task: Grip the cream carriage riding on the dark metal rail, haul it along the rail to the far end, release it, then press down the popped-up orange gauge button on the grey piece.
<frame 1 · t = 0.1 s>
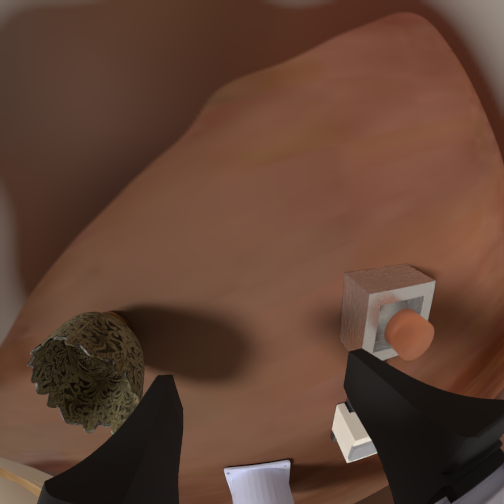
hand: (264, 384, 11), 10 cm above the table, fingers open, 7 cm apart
cup: (115, 327, 20), on the table
grey piece: (374, 301, 22), on the table
carriage: (363, 429, 23), point 3 cm above the table, slide at 0.0 cm
gauge button: (409, 334, 17), point 5 cm above the table, slide at 0.0 cm
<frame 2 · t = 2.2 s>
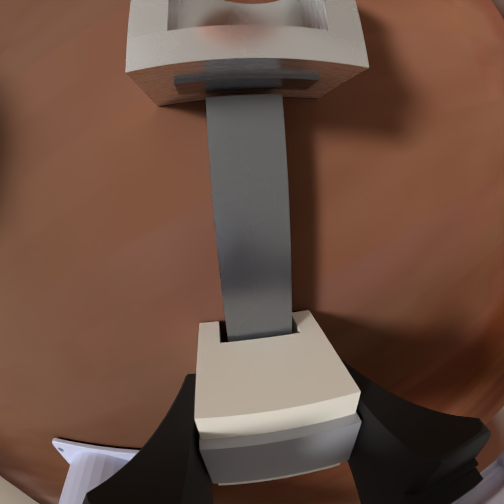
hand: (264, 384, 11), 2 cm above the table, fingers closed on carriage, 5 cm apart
grey piece: (235, 30, 8), on the table
rail: (253, 293, 11), on the table
carriage: (268, 401, 10), point 3 cm above the table, slide at 0.0 cm, touching gripper
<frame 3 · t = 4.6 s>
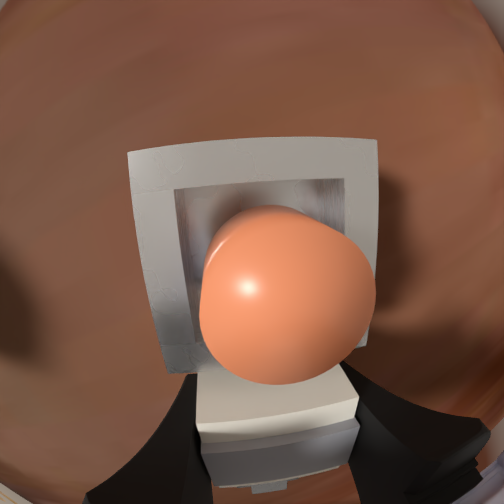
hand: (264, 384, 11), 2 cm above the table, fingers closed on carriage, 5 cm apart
grey piece: (248, 230, 11), on the table
rail: (262, 421, 14), on the table
carriage: (268, 405, 10), point 3 cm above the table, slide at 7.8 cm, touching gripper
gauge button: (279, 289, 6), point 5 cm above the table, slide at 0.0 cm
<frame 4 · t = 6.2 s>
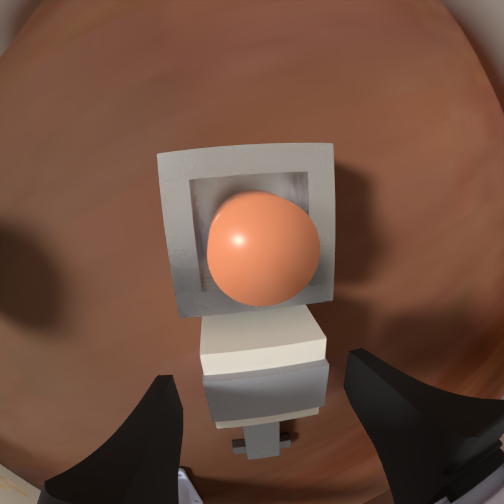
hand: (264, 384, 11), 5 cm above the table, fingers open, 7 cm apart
grey piece: (243, 214, 14), on the table
rail: (256, 383, 17), on the table
carriage: (258, 355, 13), point 3 cm above the table, slide at 7.8 cm
gauge button: (259, 243, 8), point 5 cm above the table, slide at 0.0 cm
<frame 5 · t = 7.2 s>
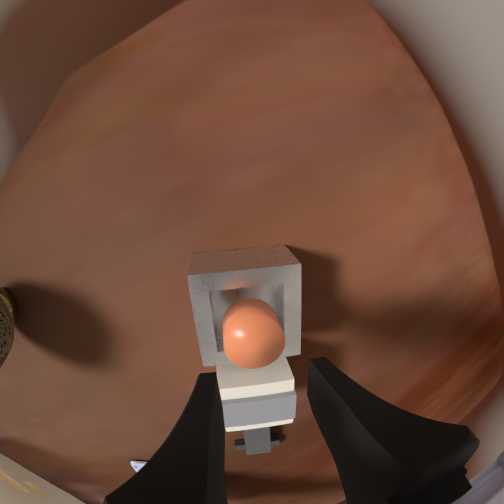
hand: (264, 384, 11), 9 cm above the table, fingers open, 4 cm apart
cup: (7, 302, 18), on the table
grey piece: (242, 291, 19), on the table
rail: (252, 398, 23), on the table
carriage: (253, 384, 18), point 3 cm above the table, slide at 7.8 cm
gauge button: (252, 333, 14), point 5 cm above the table, slide at 0.0 cm
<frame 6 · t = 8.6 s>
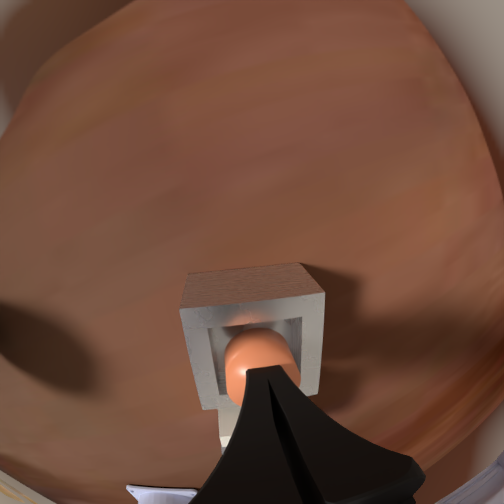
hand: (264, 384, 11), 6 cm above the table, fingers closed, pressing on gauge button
grey piece: (248, 317, 16), on the table
carriage: (260, 423, 15), point 3 cm above the table, slide at 7.8 cm
gauge button: (260, 369, 12), point 5 cm above the table, slide at 0.7 cm, touching gripper
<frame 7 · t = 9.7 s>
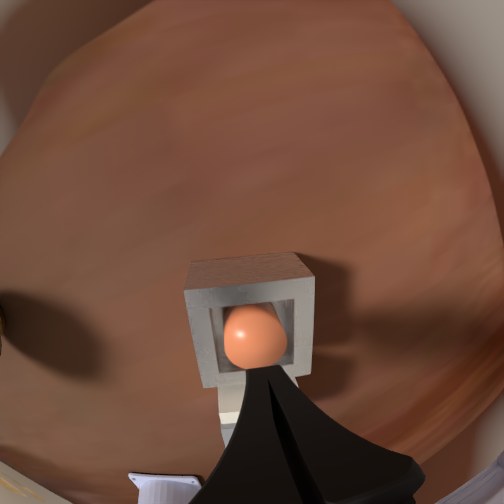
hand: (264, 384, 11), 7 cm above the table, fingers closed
grey piece: (246, 303, 17), on the table
carriage: (258, 403, 16), point 3 cm above the table, slide at 7.8 cm
gauge button: (253, 333, 14), point 3 cm above the table, slide at 1.9 cm
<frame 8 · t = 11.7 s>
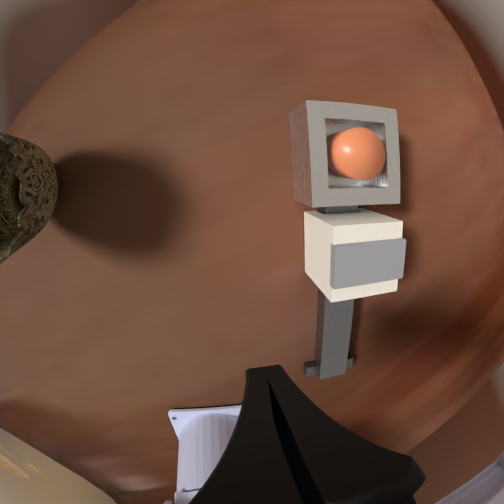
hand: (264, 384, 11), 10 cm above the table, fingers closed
cup: (46, 186, 17), on the table
grey piece: (332, 155, 19), on the table
rail: (332, 295, 22), on the table
carriage: (351, 250, 18), point 3 cm above the table, slide at 7.8 cm
gauge button: (354, 154, 15), point 3 cm above the table, slide at 1.9 cm
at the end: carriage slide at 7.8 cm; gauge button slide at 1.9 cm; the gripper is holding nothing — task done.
